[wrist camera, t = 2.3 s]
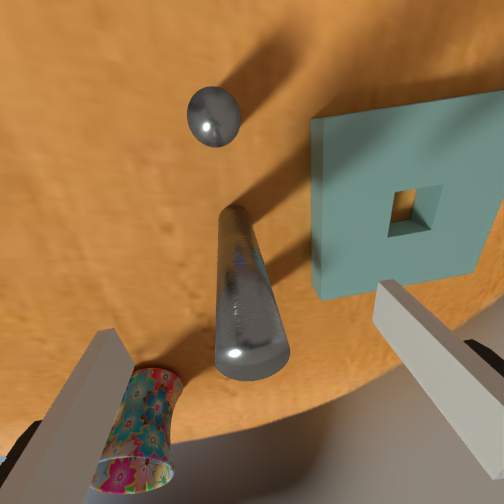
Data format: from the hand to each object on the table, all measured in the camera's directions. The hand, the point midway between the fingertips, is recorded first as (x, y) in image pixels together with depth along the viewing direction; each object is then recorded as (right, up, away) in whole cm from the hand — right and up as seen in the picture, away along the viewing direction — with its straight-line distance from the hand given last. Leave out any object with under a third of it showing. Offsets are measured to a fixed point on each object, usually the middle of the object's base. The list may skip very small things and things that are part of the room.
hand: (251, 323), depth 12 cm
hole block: (+15, +9, +13) cm, 22 cm away
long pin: (-2, +7, +12) cm, 14 cm away
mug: (-16, -15, +22) cm, 31 cm away
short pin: (-3, +15, +8) cm, 17 cm away
